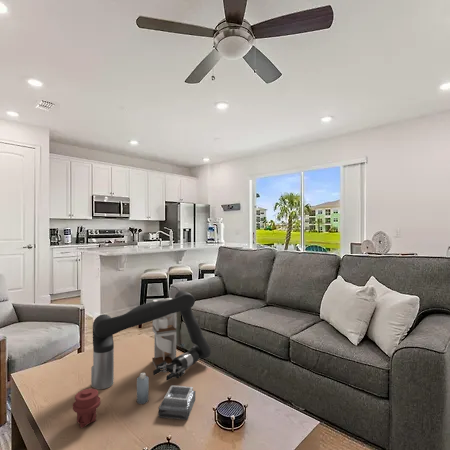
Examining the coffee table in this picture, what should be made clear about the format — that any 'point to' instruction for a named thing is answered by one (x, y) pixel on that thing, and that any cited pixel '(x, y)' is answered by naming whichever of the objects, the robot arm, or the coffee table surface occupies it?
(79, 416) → the mechanical component
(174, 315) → the white shelf unit
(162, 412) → the square grey open box
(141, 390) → the pale blue squeeze bottle
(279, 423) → the coffee table surface
